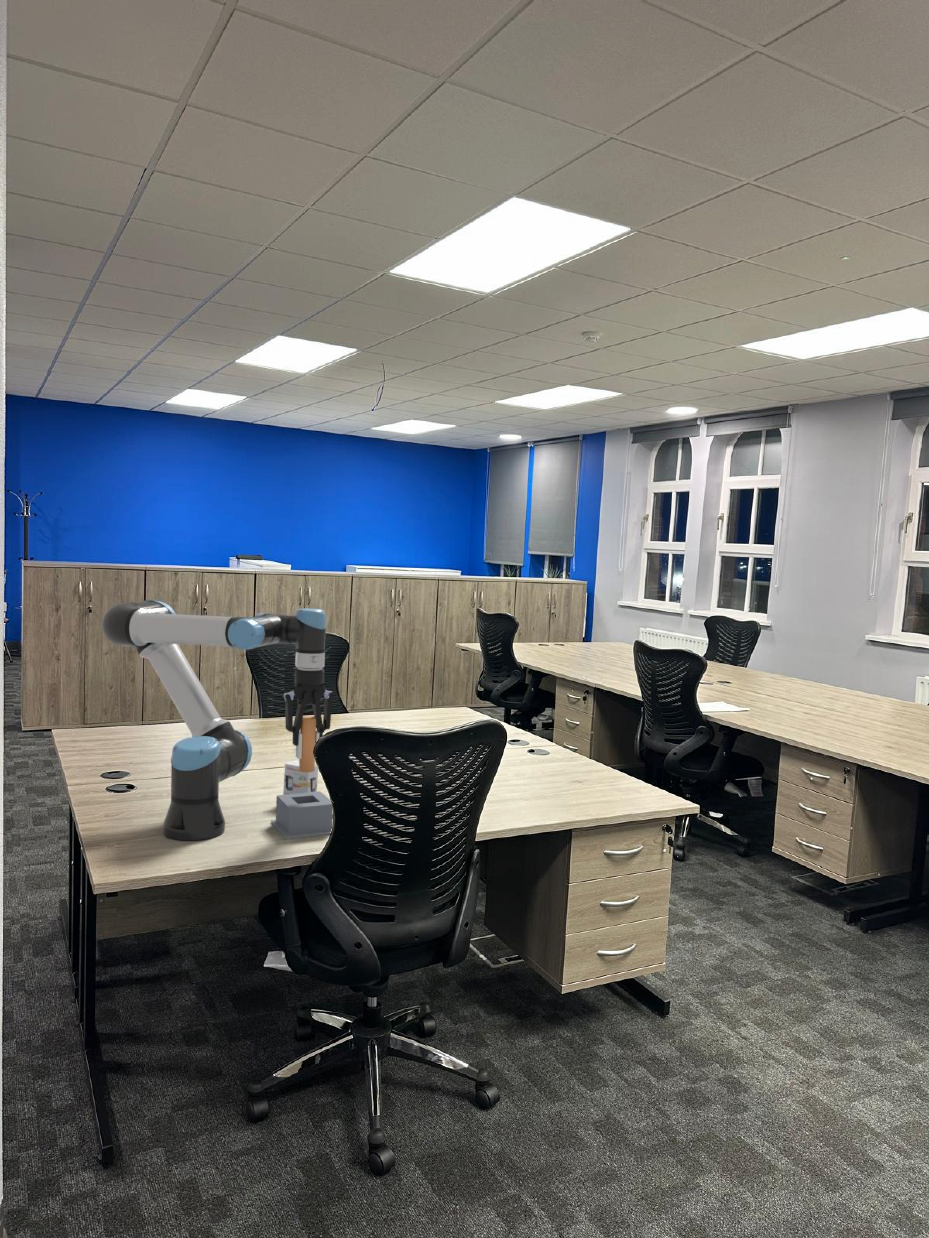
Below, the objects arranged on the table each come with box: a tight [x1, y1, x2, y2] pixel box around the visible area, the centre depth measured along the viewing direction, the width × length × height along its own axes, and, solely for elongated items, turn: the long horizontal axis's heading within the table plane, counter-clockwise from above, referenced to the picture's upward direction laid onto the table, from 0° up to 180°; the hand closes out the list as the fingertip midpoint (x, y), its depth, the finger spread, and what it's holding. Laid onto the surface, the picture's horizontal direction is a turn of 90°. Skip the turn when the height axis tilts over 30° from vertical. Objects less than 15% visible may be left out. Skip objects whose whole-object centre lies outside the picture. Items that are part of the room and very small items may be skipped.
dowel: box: [298, 715, 317, 772], centre depth 229 cm, size 4×4×14 cm
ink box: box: [282, 759, 319, 795], centre depth 251 cm, size 9×5×12 cm, turn 66°
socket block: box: [270, 790, 333, 840], centre depth 231 cm, size 14×14×8 cm
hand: (307, 756), depth 230 cm, fingers closed on dowel, 4 cm apart
